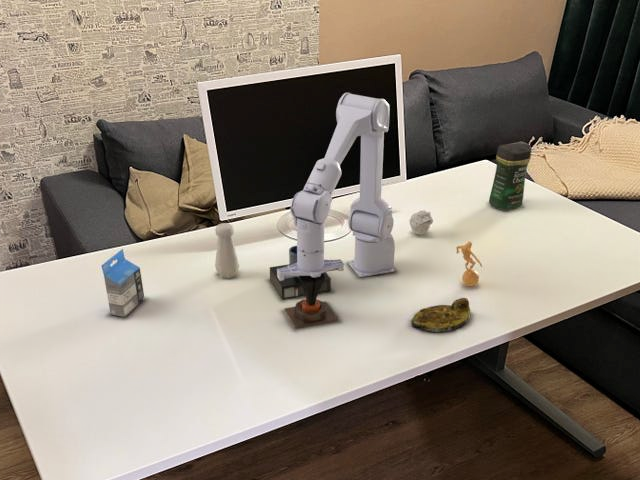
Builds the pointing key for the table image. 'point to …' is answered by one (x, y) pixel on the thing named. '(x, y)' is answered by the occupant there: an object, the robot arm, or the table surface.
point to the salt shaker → (226, 251)
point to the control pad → (310, 315)
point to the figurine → (470, 275)
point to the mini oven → (293, 284)
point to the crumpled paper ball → (420, 222)
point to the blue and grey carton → (122, 285)
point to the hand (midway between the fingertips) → (310, 302)
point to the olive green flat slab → (443, 316)
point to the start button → (310, 306)
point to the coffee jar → (510, 175)
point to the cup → (293, 255)
